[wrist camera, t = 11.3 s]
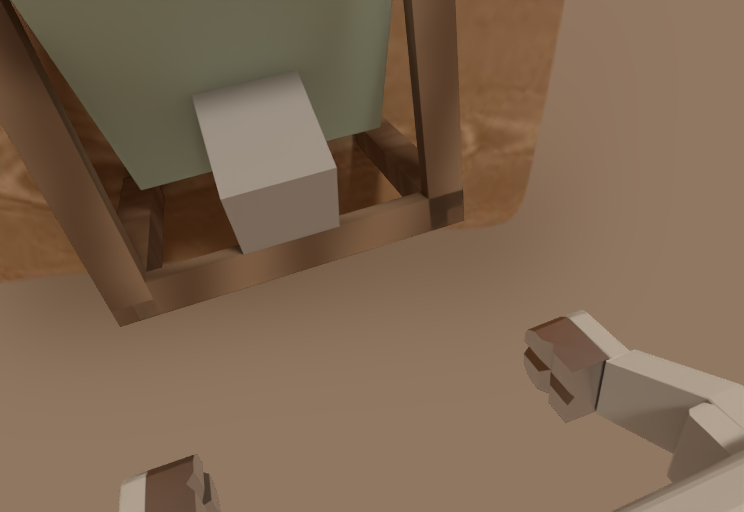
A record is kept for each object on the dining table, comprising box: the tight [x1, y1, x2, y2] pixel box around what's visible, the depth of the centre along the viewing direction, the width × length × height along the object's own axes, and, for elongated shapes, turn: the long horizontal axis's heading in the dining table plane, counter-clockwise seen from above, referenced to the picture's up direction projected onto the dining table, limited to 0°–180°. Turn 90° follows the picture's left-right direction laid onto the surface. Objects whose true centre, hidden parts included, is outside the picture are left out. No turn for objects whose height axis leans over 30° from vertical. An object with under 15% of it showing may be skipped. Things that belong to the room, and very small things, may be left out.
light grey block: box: [192, 70, 340, 255], centre depth 25 cm, size 5×5×6 cm
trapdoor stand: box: [0, 0, 464, 327], centre depth 26 cm, size 19×19×16 cm
